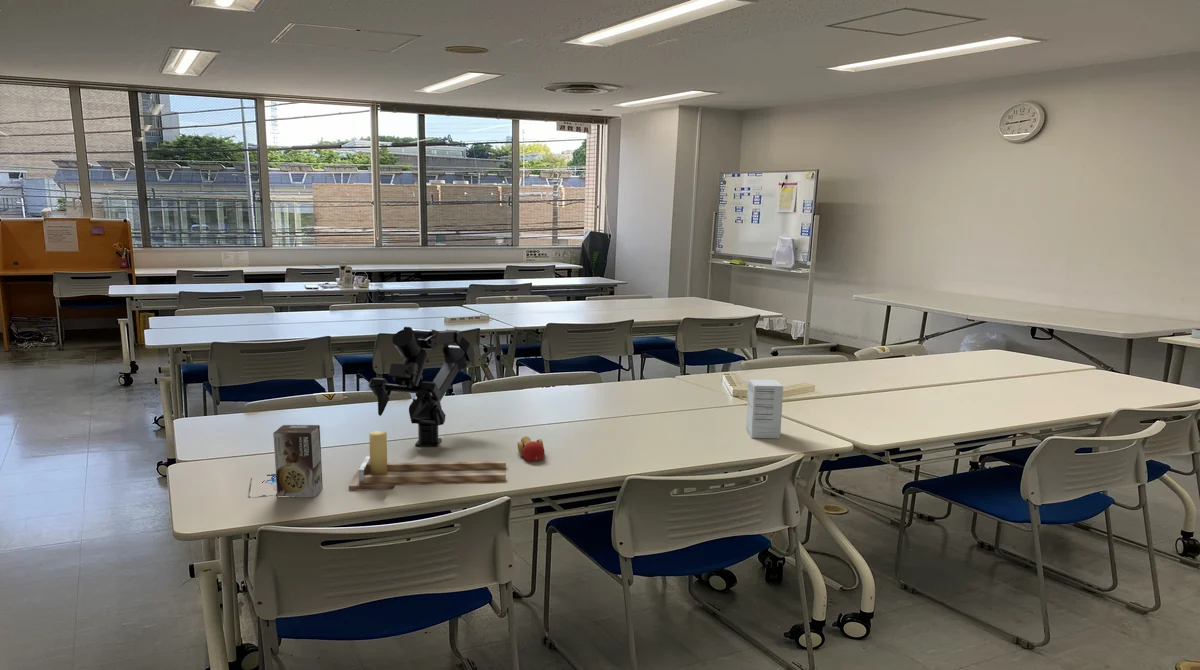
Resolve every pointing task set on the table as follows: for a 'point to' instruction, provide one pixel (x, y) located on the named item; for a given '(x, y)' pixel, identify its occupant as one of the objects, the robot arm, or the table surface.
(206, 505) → the table surface
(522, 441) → the kendama
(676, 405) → the table surface
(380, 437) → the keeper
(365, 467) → the stop
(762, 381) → the supplement box
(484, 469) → the track
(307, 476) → the coffee box
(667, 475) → the table surface
